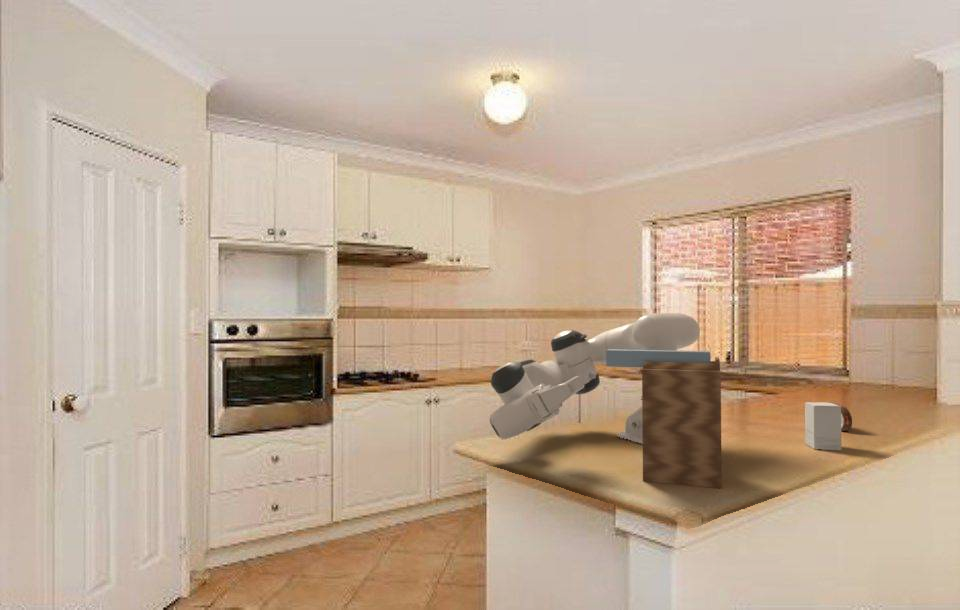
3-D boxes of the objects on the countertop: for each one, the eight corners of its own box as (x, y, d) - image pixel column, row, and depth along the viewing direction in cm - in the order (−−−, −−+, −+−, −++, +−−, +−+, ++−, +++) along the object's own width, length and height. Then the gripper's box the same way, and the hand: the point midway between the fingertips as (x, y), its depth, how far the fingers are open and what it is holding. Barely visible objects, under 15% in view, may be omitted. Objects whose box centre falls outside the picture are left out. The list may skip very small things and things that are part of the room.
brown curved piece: (853, 433, 187) (853, 407, 187) (843, 433, 187) (843, 407, 187) (826, 424, 202) (825, 400, 202) (816, 424, 202) (816, 400, 202)
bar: (606, 366, 143) (606, 350, 143) (608, 364, 147) (608, 349, 147) (710, 369, 135) (710, 352, 135) (710, 367, 138) (710, 351, 138)
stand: (642, 480, 135) (642, 358, 135) (647, 465, 148) (646, 354, 148) (721, 488, 129) (720, 360, 129) (719, 472, 142) (718, 356, 142)
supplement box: (842, 450, 163) (841, 406, 163) (813, 449, 165) (813, 405, 165) (832, 445, 170) (831, 402, 171) (804, 444, 172) (804, 401, 172)
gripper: (559, 406, 159) (603, 382, 155) (541, 419, 140) (590, 392, 136) (548, 385, 160) (591, 361, 156) (528, 395, 141) (577, 368, 137)
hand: (591, 376), depth 146 cm, fingers open, 8 cm apart
